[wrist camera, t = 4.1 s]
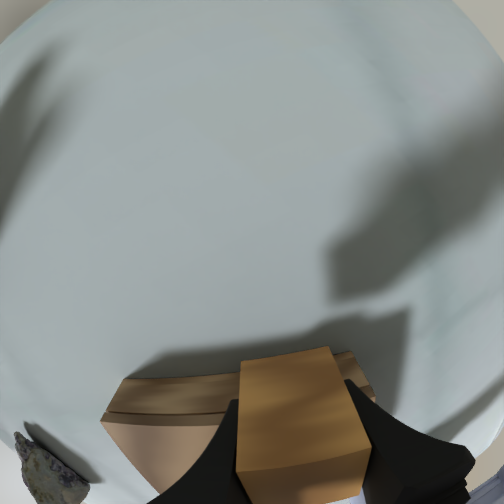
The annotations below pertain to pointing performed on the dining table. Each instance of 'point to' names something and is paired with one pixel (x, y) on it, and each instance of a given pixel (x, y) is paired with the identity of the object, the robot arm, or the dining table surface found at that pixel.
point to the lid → (165, 442)
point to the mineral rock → (48, 475)
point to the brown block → (298, 431)
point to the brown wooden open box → (199, 392)
